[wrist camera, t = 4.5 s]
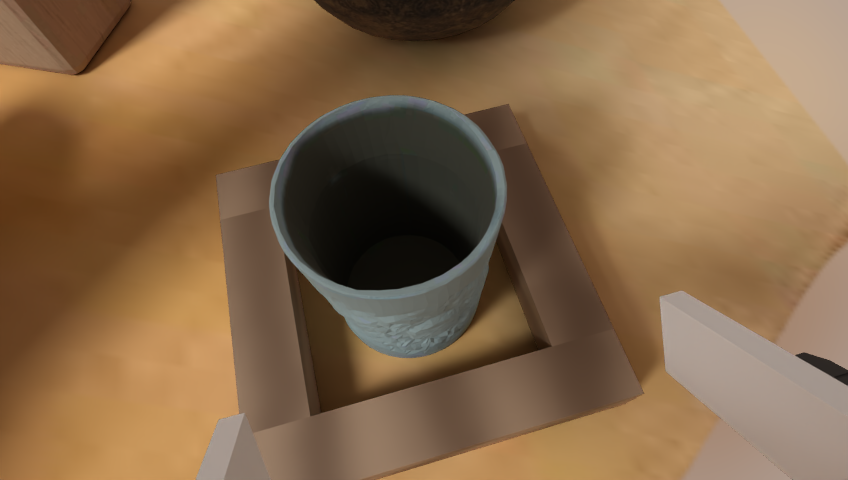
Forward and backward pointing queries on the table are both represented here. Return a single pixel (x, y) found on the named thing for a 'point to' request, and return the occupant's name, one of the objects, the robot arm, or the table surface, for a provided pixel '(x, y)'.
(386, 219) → the grey-green cup
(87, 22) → the wooden block
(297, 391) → the well board
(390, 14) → the bowl
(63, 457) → the table surface
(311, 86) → the table surface
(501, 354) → the table surface
